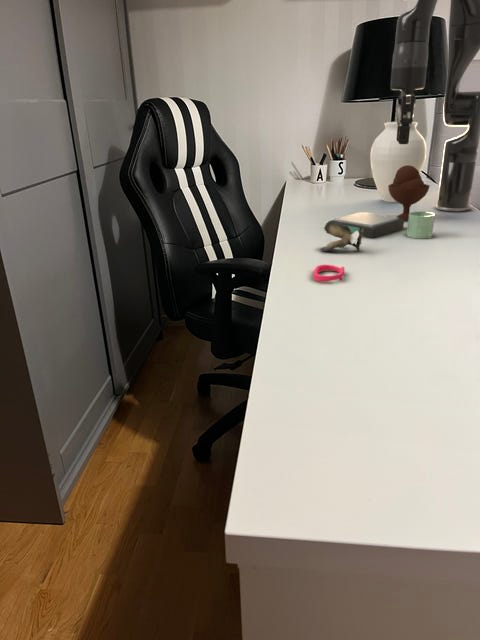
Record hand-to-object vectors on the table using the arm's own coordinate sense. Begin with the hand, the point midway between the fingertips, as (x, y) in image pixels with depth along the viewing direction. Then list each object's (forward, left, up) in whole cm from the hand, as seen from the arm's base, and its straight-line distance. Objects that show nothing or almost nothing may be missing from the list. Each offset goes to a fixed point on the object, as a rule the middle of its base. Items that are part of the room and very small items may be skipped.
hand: (402, 142), depth 118 cm
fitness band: (+37, +9, -22) cm, 44 cm away
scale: (-1, -9, -22) cm, 24 cm away
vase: (-43, -27, -22) cm, 55 cm away
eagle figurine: (+20, -1, -22) cm, 30 cm away
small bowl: (-4, +5, -22) cm, 23 cm away
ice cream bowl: (-19, -8, -22) cm, 30 cm away
